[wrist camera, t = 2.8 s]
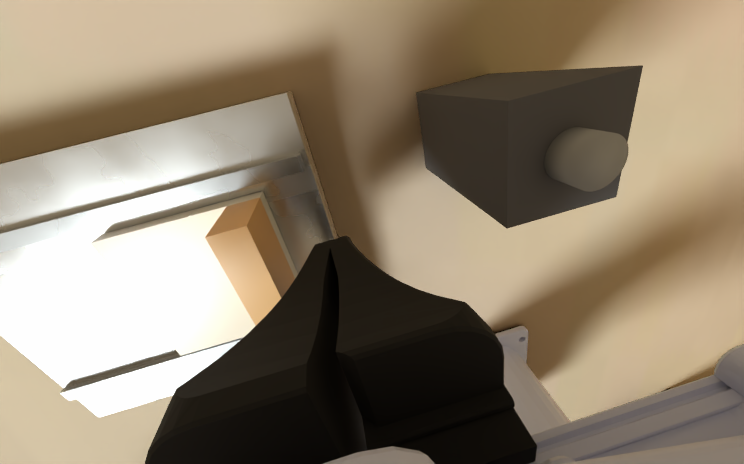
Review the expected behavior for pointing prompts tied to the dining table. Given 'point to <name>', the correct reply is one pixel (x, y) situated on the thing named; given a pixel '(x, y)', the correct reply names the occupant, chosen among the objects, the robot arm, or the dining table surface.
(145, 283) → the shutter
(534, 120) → the plug
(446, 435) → the robot arm
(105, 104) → the dining table surface
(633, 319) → the dining table surface
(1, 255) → the socket
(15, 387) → the dining table surface
